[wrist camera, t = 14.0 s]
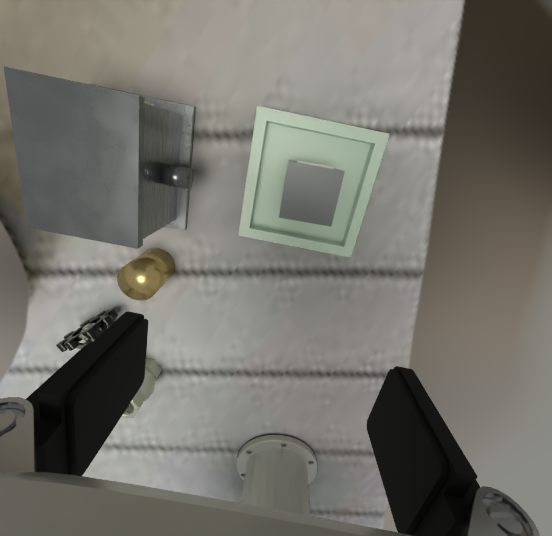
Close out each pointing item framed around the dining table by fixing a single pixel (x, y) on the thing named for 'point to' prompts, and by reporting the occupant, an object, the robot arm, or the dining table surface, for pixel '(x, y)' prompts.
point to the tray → (315, 149)
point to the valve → (90, 334)
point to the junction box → (99, 158)
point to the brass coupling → (146, 274)
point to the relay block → (310, 192)
